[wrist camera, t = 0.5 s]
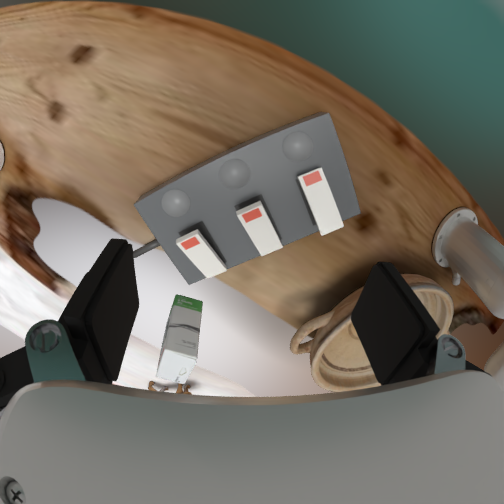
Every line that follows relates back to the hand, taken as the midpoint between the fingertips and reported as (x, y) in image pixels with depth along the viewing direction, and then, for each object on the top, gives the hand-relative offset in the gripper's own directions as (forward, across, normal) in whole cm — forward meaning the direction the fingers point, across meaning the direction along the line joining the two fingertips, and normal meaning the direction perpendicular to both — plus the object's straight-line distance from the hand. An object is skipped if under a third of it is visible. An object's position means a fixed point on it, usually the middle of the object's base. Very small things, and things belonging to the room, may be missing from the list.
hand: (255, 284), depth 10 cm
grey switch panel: (+26, 0, +8) cm, 27 cm away
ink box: (+26, +6, +28) cm, 39 cm away
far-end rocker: (+22, -10, +4) cm, 25 cm away
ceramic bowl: (+26, -29, +26) cm, 47 cm away
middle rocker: (+22, -4, +8) cm, 24 cm away
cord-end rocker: (+22, +3, +12) cm, 25 cm away
